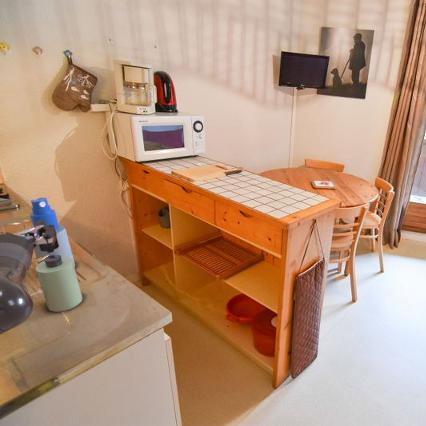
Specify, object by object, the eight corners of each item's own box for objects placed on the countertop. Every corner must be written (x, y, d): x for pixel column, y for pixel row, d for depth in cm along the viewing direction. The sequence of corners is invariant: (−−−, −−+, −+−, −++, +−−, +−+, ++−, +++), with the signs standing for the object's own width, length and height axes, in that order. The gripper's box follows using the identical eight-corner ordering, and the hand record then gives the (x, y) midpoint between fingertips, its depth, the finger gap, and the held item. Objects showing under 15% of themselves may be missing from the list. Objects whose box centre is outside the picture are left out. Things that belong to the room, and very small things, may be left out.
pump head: (60, 253, 85) (56, 239, 83) (40, 256, 83) (36, 242, 81) (60, 241, 90) (57, 228, 88) (42, 245, 88) (38, 231, 86)
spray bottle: (80, 267, 108) (62, 199, 98) (48, 279, 100) (26, 207, 91) (67, 259, 112) (49, 192, 102) (36, 270, 105) (13, 199, 95)
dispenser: (82, 305, 91) (70, 261, 85) (46, 315, 87) (31, 269, 81) (82, 290, 97) (71, 248, 91) (48, 299, 92) (34, 254, 87)
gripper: (48, 235, 60) (52, 206, 72) (-63, 253, 53) (-38, 217, 64) (58, 268, 63) (60, 235, 75) (-46, 290, 55) (-25, 249, 67)
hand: (15, 227), depth 70 cm, fingers open, 8 cm apart
